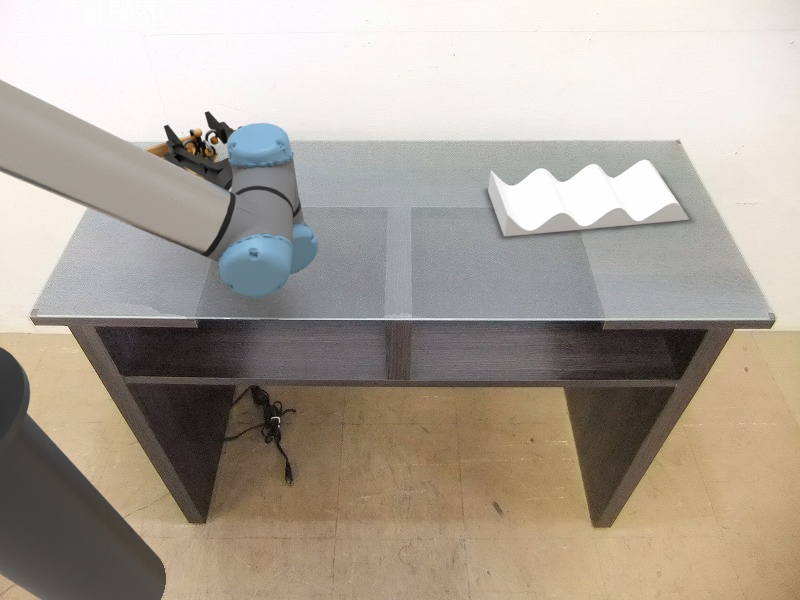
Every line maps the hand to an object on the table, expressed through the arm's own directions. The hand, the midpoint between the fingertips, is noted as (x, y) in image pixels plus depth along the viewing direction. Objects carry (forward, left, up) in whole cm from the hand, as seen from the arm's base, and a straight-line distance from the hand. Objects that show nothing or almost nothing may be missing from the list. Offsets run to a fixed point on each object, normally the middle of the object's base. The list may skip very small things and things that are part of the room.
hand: (188, 125), depth 100 cm
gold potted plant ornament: (0, -5, -6) cm, 8 cm away
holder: (-3, +14, -18) cm, 23 cm away
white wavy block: (+61, -35, -18) cm, 73 cm away
